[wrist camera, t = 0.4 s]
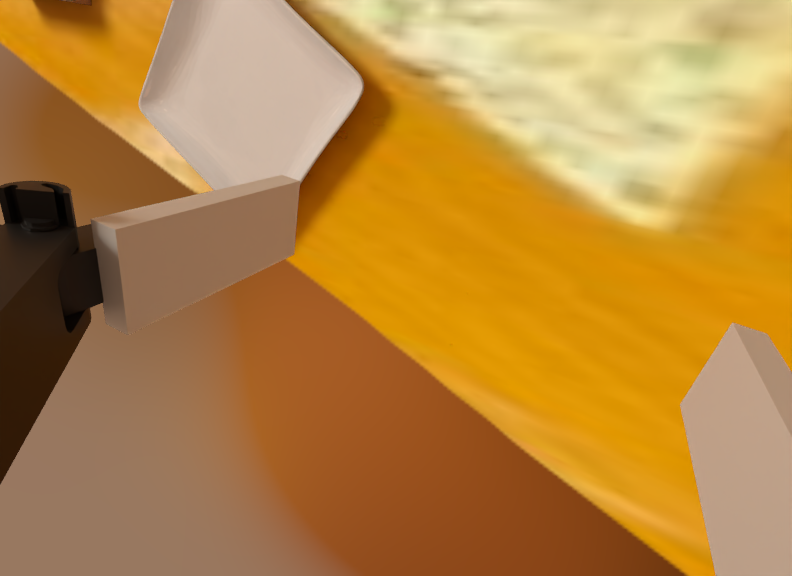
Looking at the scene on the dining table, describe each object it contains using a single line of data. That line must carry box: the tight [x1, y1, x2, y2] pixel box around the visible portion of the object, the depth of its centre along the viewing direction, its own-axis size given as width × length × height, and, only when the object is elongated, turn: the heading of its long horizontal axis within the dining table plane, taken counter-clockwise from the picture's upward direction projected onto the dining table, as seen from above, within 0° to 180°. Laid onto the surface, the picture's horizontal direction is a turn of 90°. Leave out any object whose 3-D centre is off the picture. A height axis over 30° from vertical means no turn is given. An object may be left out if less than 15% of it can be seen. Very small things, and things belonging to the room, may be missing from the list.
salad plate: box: [139, 0, 364, 190], centre depth 45 cm, size 21×21×3 cm
